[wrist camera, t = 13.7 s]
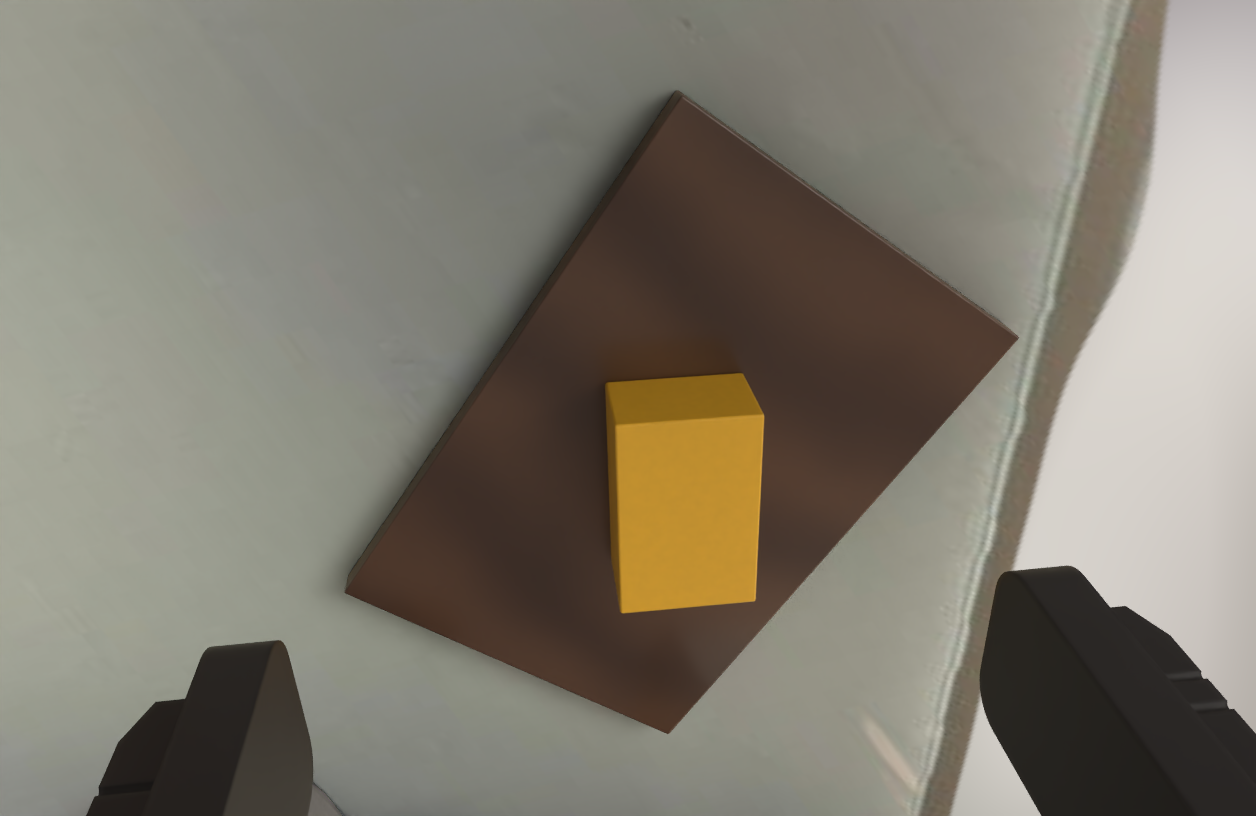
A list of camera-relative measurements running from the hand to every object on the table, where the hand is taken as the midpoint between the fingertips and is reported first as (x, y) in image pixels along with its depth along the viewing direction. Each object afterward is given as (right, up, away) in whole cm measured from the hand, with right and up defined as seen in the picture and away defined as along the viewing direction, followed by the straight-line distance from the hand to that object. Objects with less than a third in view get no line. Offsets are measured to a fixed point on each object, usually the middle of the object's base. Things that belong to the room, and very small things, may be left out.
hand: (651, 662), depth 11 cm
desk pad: (+1, +1, +23) cm, 23 cm away
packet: (+1, +1, +22) cm, 22 cm away
